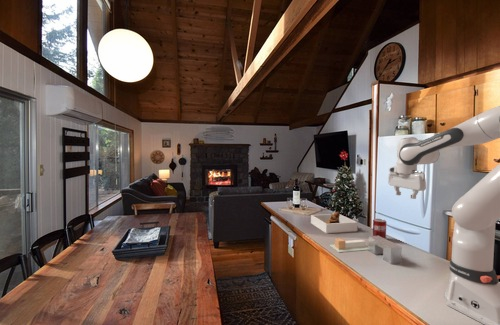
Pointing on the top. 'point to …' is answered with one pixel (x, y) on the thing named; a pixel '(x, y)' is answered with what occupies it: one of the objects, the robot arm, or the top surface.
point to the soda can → (379, 228)
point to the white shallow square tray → (334, 224)
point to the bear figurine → (333, 218)
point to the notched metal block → (385, 249)
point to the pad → (350, 249)
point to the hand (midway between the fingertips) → (405, 196)
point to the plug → (349, 243)
